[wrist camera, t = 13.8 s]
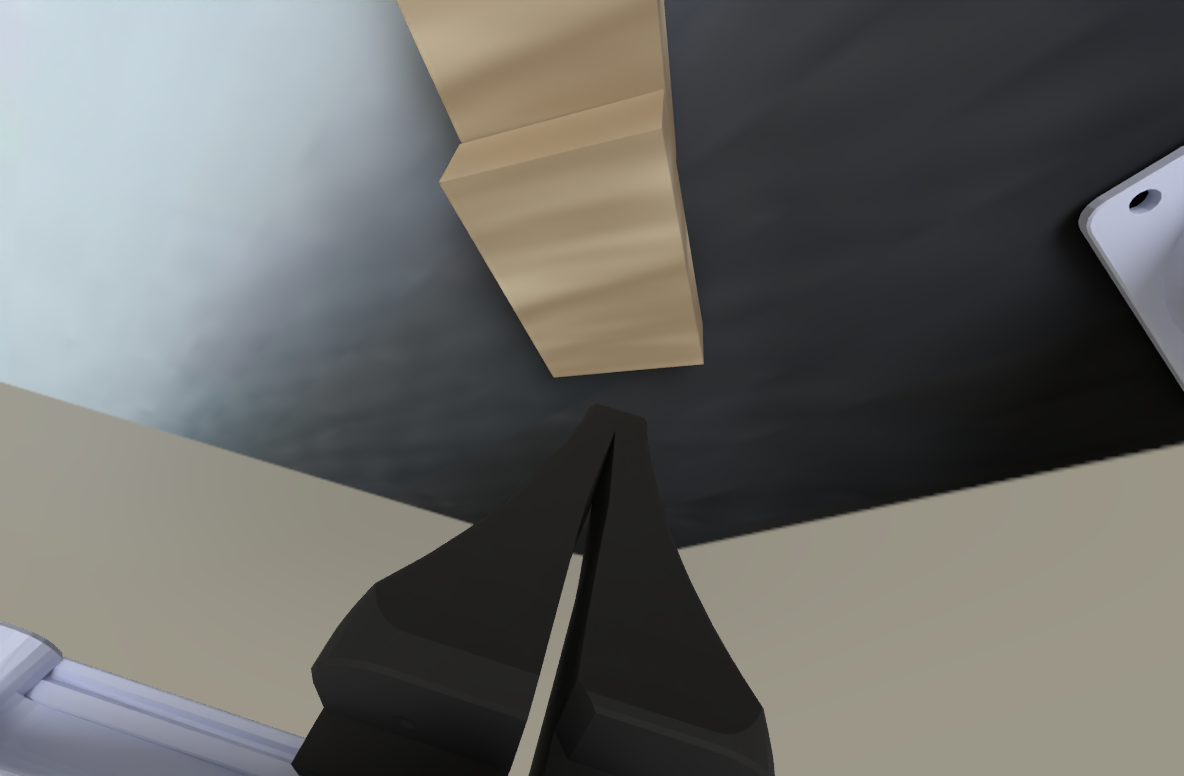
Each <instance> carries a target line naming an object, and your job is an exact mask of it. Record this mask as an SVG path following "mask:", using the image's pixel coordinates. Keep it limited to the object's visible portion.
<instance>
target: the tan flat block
mask: <svg viewBox="0 0 1184 776" xmlns="http://www.w3.org/2000/svg"><path fill="white" fill-rule="evenodd" d="M396 1H397V4H398V6H399V8H400V10H401V12H402V14H403V17H404V19H405V21H406V23H407V25H408V28H409V30H410V32H411V34H412V36H413V38H414V41H415V43H416V45H417V47H418V49H419V52H420V54H421V56H422V58H423V60H424V62H425V65H426V67H427V69H428V71H429V73H430V76H431V78H432V80H433V82H434V84H435V86H436V89H437V91H438V93H439V95H440V97H441V100H442V102H443V104H444V106H445V108H446V110H447V113H448V115H449V117H450V119H451V121H452V124H453V126H454V128H455V130H456V132H457V134H458V137H459V139H460V141H461V143H466V142H470V141H473V140H477V139H481V138H485V137H488V136H492V135H496V134H499V133H503V132H507V131H510V130H514V129H518V128H522V127H525V126H529V125H533V124H536V123H540V122H544V121H548V120H551V119H555V118H559V117H562V116H566V115H570V114H573V113H577V112H581V111H585V110H588V109H592V108H596V107H599V106H603V105H607V104H611V103H614V102H618V101H622V100H625V99H629V98H633V97H636V96H640V95H644V94H648V93H651V92H655V91H659V90H663V89H664V91H665V98H666V104H667V110H668V116H669V122H670V128H671V134H672V140H673V147H674V153H675V159H676V141H675V129H674V117H673V105H672V93H671V81H670V69H669V57H668V45H667V33H666V21H665V9H664V0H396Z"/></svg>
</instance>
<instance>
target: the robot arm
mask: <svg viewBox="0 0 1184 776" xmlns="http://www.w3.org/2000/svg"><path fill="white" fill-rule="evenodd" d="M1146 190H1148V195H1147V197H1146V198H1145V200H1144V201H1143V202H1142V203H1140V204H1139V205H1138V206H1136V207H1133V208H1130V209H1129V204H1130V202H1131V201H1132V199H1133V198H1134V197H1135V196H1137V195H1138V194H1139V193H1141V192H1143V191H1146ZM1078 223H1079V227H1080V230H1081V232H1082V233H1083V235H1084V236H1085V238H1086V239H1087V241H1088V243H1089V244H1090V246H1091V247H1092V249H1093V250H1094V252H1095V254H1096V255H1097V257H1098V258H1099V260H1100V261H1101V263H1102V264H1103V266H1104V268H1105V269H1106V271H1107V272H1108V274H1109V275H1110V277H1111V279H1112V280H1113V282H1114V283H1115V285H1116V286H1117V288H1118V289H1119V291H1120V293H1121V294H1122V296H1123V297H1124V299H1125V300H1126V302H1127V304H1128V305H1129V307H1130V308H1131V310H1132V311H1133V313H1134V314H1135V316H1136V318H1137V319H1138V321H1139V322H1140V324H1141V325H1142V327H1143V329H1144V330H1145V332H1146V333H1147V335H1148V336H1149V338H1150V340H1151V341H1152V343H1153V344H1154V346H1155V347H1156V349H1157V350H1158V352H1159V354H1160V355H1161V357H1162V358H1163V360H1164V361H1165V363H1166V365H1167V366H1168V368H1169V369H1170V371H1171V372H1172V374H1173V375H1174V377H1175V379H1176V380H1177V382H1178V383H1179V385H1180V386H1181V388H1182V390H1183V391H1184V146H1182V147H1180V148H1179V149H1177V150H1175V151H1174V152H1172V153H1170V154H1169V155H1167V156H1165V157H1164V158H1162V159H1160V160H1159V161H1157V162H1155V163H1154V164H1152V165H1150V166H1149V167H1147V168H1146V169H1144V170H1142V171H1141V172H1139V173H1137V174H1136V175H1134V176H1132V177H1131V178H1129V179H1127V180H1126V181H1124V182H1122V183H1121V184H1119V185H1117V186H1116V187H1114V188H1112V189H1111V190H1109V191H1107V192H1106V193H1104V194H1102V195H1101V196H1099V197H1097V198H1096V199H1095V200H1093V201H1092V202H1091V203H1090V204H1088V205H1087V206H1086V207H1085V209H1084V210H1083V211H1082V213H1081V214H1080V218H1079V221H1078ZM591 504H592V507H591ZM590 507H591V513H590V519H589V525H588V531H587V537H586V543H585V549H584V555H583V561H582V567H581V573H580V579H579V585H578V589H577V594H576V599H575V603H574V607H573V611H572V615H571V619H570V622H569V626H568V630H567V634H566V638H565V641H564V645H563V649H562V653H561V657H560V660H559V664H558V668H557V672H556V676H555V680H554V683H553V687H552V691H551V695H550V698H549V702H548V706H547V709H546V713H545V717H544V721H543V724H542V728H541V732H540V736H539V739H538V743H537V747H536V750H535V754H534V758H533V761H532V765H531V769H530V773H529V776H775V774H774V763H773V755H772V749H771V743H770V738H769V733H768V728H767V723H766V718H765V714H764V709H763V707H762V706H761V704H760V702H759V701H758V699H757V698H756V696H755V695H754V693H753V692H752V690H751V689H750V687H749V686H748V684H747V683H746V681H745V679H744V678H743V676H742V675H741V673H740V671H739V670H738V668H737V666H736V665H735V663H734V662H733V660H732V658H731V657H730V655H729V653H728V651H727V650H726V648H725V646H724V644H723V643H722V641H721V639H720V637H719V635H718V634H717V632H716V630H715V629H714V627H713V625H712V623H711V621H710V619H709V617H708V615H707V613H706V611H705V609H704V607H703V605H702V603H701V601H700V599H699V597H698V595H697V593H696V591H695V589H694V587H693V585H692V583H691V581H690V579H689V576H688V574H687V572H686V570H685V567H684V565H683V563H682V561H681V558H680V555H679V553H678V550H677V548H676V545H675V543H674V540H673V537H672V535H671V532H670V529H669V526H668V523H667V520H666V517H665V514H664V510H663V507H662V504H661V500H660V497H659V493H658V489H657V485H656V481H655V477H654V473H653V468H652V463H651V458H650V452H649V446H648V438H647V422H646V421H645V419H644V418H643V417H639V416H636V415H632V414H629V413H626V412H622V411H619V410H615V409H612V408H609V407H605V406H602V405H599V404H595V405H592V406H591V407H590V409H589V411H588V413H587V414H586V416H585V418H584V419H583V421H582V422H581V424H580V425H579V426H578V428H577V429H576V430H575V432H574V433H573V434H572V435H571V437H570V438H569V439H568V440H567V441H566V443H565V444H564V445H563V446H562V447H561V448H560V449H559V451H558V452H557V453H556V454H555V455H554V456H553V457H552V458H551V459H550V460H549V461H548V462H547V463H546V464H545V465H544V466H543V467H542V468H541V469H540V470H539V471H538V472H537V473H536V474H535V475H534V476H533V477H532V478H531V479H530V480H529V481H528V482H527V483H526V484H525V485H524V486H522V487H521V488H520V489H519V490H518V491H517V492H516V493H514V494H513V495H512V496H511V497H510V498H508V499H507V500H506V501H505V502H503V503H502V504H501V505H500V506H498V507H497V508H496V509H494V510H493V511H492V512H490V513H489V514H488V515H486V516H485V517H484V518H482V519H481V520H480V521H478V522H477V523H476V524H474V525H473V526H471V527H470V528H468V529H467V530H465V531H464V532H462V533H461V534H459V535H458V536H456V537H455V538H453V539H451V540H450V541H448V542H447V543H445V544H444V545H442V546H440V547H439V548H437V549H436V550H434V551H433V552H431V553H429V554H428V555H426V556H424V557H422V558H421V559H419V560H417V561H415V562H414V563H412V564H410V565H408V566H406V567H404V568H402V569H400V570H399V571H397V572H395V573H393V574H391V575H390V576H388V577H386V578H384V579H382V580H380V581H378V582H377V583H375V584H374V585H373V586H372V587H371V588H370V589H369V590H368V591H367V593H366V594H365V595H364V596H363V597H362V598H361V599H360V600H359V601H358V602H357V603H356V605H355V606H354V607H353V608H352V609H351V610H350V612H349V613H348V614H347V615H346V617H345V618H344V619H343V621H342V622H341V623H340V624H339V626H338V627H337V628H336V630H335V632H334V633H333V635H332V636H331V638H330V639H329V641H328V642H327V644H326V645H325V647H324V649H323V650H322V652H321V654H320V655H319V657H318V658H317V660H316V661H315V663H314V665H313V666H312V668H311V671H312V678H313V683H314V685H315V688H316V690H317V692H318V695H319V697H320V699H321V702H322V704H323V706H324V708H323V710H322V712H321V713H320V715H319V717H318V718H317V720H316V722H315V724H314V725H313V727H312V729H311V730H310V732H309V734H308V735H307V737H306V738H304V737H301V736H297V735H295V734H291V733H289V732H286V731H283V730H280V729H277V728H274V727H271V726H268V725H265V724H262V723H259V722H256V721H253V720H250V719H247V718H244V717H241V716H238V715H235V714H232V713H229V712H226V711H223V710H220V709H217V708H214V707H211V706H208V705H205V704H202V703H199V702H196V701H193V700H191V699H188V698H185V697H182V696H178V695H176V694H173V693H170V692H167V691H164V690H161V689H157V688H155V687H152V686H149V685H146V684H143V683H140V682H137V681H134V680H131V679H128V678H125V677H122V676H119V675H116V674H113V673H110V672H107V671H104V670H101V669H98V668H95V667H92V666H89V665H86V664H83V663H80V662H77V661H74V660H71V659H68V658H65V657H62V652H61V651H60V650H59V649H58V648H57V647H56V646H55V645H54V644H52V643H51V642H50V641H48V640H47V639H45V638H43V637H41V636H40V635H38V634H36V633H34V632H31V631H28V630H26V629H24V628H20V627H17V626H15V625H12V624H9V623H6V622H3V621H0V776H508V773H509V771H510V769H511V766H512V763H513V761H514V757H515V755H516V752H517V748H518V746H519V743H520V740H521V737H522V734H523V731H524V728H525V724H526V722H527V719H528V716H529V712H530V708H531V705H532V701H533V697H534V694H535V690H536V687H537V683H538V679H539V676H540V672H541V668H542V664H543V661H544V657H545V653H546V649H547V645H548V641H549V638H550V634H551V630H552V627H553V623H554V619H555V615H556V611H557V607H558V604H559V600H560V596H561V592H562V589H563V585H564V581H565V578H566V574H567V570H568V566H569V563H570V559H571V557H572V554H573V551H574V549H575V546H576V543H577V541H578V538H579V536H580V533H581V530H582V528H583V525H584V522H585V520H586V517H587V515H588V512H589V509H590Z"/></svg>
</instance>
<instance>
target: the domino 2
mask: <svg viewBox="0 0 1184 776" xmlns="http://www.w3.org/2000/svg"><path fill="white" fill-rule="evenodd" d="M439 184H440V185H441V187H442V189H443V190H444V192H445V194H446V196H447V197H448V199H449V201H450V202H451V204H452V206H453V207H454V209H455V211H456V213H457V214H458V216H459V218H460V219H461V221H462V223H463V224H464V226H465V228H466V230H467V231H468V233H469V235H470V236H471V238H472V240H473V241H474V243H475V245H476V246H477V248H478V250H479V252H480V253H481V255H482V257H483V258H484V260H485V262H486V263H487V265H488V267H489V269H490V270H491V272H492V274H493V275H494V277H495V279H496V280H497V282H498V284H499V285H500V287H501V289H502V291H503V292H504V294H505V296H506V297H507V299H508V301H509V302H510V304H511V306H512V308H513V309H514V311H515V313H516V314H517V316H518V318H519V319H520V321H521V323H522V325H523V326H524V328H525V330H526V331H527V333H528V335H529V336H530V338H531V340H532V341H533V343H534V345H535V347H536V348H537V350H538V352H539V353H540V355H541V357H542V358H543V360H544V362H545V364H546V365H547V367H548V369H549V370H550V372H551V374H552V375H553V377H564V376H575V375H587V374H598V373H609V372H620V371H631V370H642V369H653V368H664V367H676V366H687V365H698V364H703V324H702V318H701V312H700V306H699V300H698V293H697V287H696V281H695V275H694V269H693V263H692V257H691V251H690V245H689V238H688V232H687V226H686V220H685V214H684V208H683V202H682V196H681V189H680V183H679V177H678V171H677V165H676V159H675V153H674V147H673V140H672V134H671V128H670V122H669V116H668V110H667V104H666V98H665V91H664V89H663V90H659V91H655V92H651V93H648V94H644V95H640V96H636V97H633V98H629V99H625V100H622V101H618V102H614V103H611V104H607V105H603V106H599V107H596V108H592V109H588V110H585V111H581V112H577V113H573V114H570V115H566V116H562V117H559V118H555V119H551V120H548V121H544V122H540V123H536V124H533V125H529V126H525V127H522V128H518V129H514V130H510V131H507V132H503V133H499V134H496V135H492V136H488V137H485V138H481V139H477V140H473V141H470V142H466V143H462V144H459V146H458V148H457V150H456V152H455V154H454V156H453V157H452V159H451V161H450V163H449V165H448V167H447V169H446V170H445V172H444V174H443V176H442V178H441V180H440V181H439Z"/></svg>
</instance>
